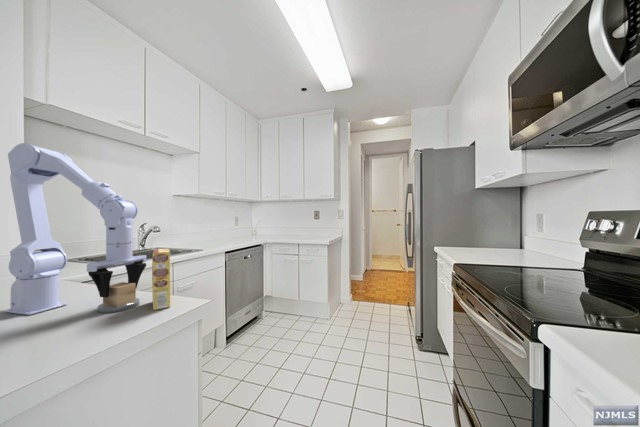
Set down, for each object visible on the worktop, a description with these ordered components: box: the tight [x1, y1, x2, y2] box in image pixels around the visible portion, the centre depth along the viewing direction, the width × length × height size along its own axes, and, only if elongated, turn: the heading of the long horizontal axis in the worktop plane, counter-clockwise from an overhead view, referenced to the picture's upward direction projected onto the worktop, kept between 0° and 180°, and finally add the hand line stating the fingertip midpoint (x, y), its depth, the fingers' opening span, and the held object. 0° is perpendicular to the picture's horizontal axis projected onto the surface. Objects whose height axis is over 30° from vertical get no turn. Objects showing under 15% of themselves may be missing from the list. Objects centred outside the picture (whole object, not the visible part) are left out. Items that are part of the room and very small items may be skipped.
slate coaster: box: [96, 297, 140, 314], centre depth 68 cm, size 9×9×1 cm
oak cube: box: [102, 281, 137, 307], centre depth 68 cm, size 5×5×5 cm
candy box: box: [151, 248, 171, 311], centre depth 70 cm, size 9×4×15 cm, turn 33°
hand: (119, 292), depth 68 cm, fingers open, 7 cm apart
